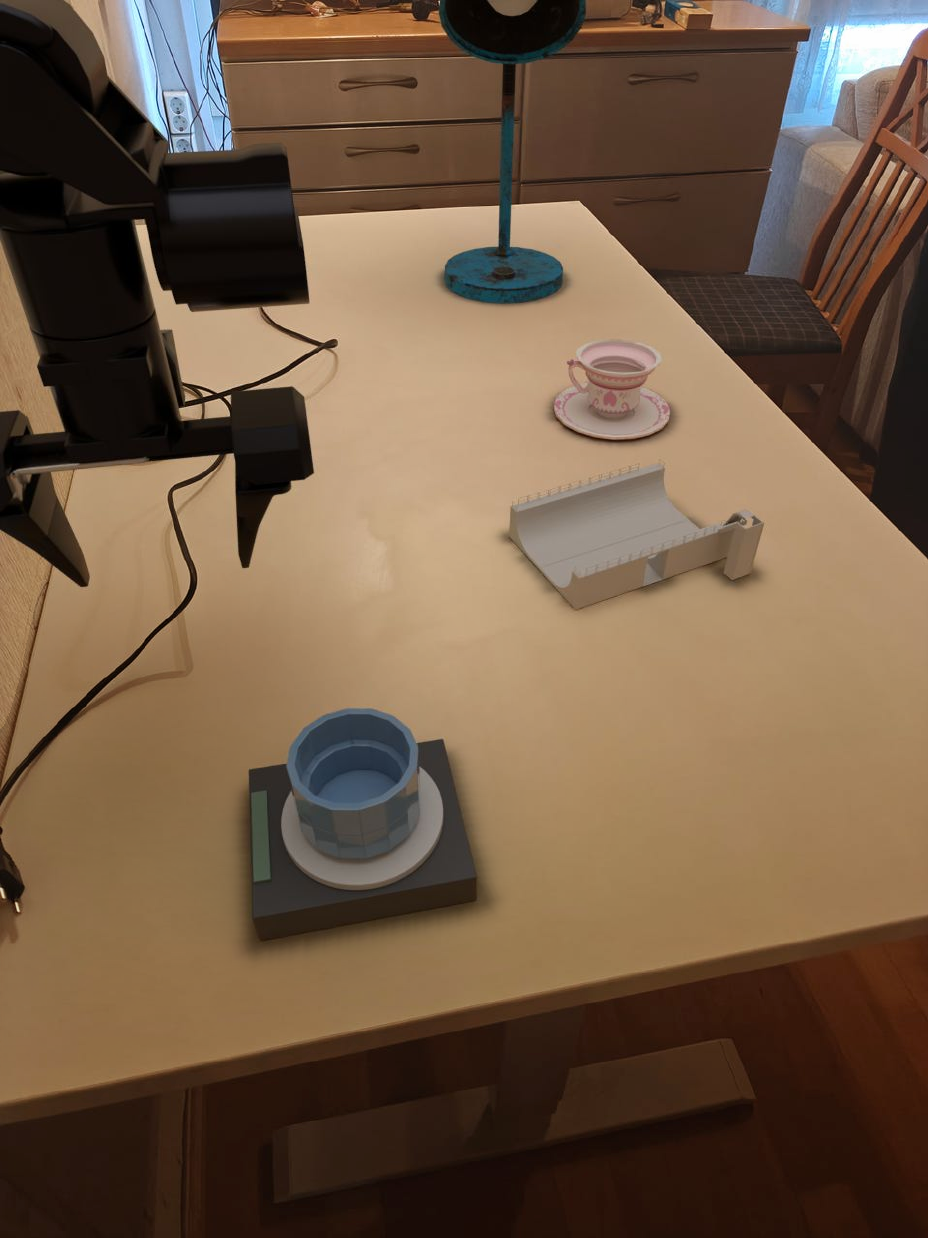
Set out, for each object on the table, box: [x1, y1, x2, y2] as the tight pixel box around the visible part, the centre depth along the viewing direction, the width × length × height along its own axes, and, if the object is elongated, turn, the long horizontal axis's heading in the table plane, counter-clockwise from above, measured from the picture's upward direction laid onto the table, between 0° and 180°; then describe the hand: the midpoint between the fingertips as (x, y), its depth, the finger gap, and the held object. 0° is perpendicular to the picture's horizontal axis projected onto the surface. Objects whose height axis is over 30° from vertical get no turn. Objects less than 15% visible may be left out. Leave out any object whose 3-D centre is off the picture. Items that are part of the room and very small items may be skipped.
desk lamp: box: [438, 0, 587, 304], centre depth 101 cm, size 16×22×45 cm
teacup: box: [553, 339, 671, 441], centre depth 88 cm, size 12×12×6 cm
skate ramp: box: [508, 458, 765, 611], centre depth 71 cm, size 15×13×5 cm
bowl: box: [285, 707, 421, 859], centre depth 48 cm, size 7×7×5 cm
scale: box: [248, 738, 478, 941], centre depth 50 cm, size 12×10×3 cm
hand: (166, 573), depth 52 cm, fingers open, 9 cm apart
